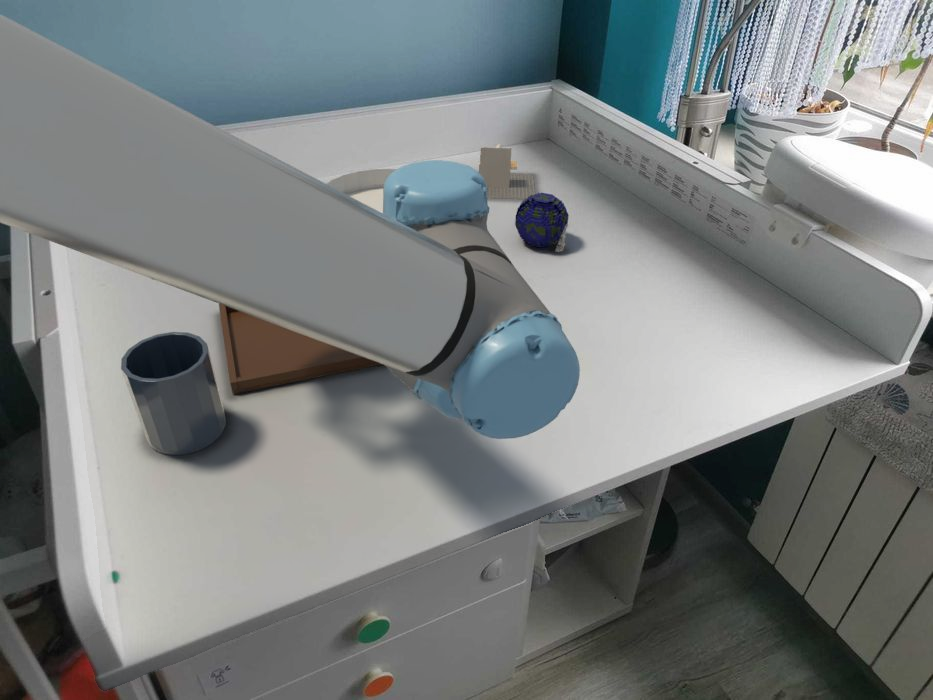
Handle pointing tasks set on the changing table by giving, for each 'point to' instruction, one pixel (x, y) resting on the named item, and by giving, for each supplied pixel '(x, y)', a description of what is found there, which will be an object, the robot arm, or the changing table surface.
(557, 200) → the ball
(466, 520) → the changing table surface
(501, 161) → the architectural model
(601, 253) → the changing table surface
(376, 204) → the dish
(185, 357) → the slate cup
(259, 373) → the tray
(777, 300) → the changing table surface
